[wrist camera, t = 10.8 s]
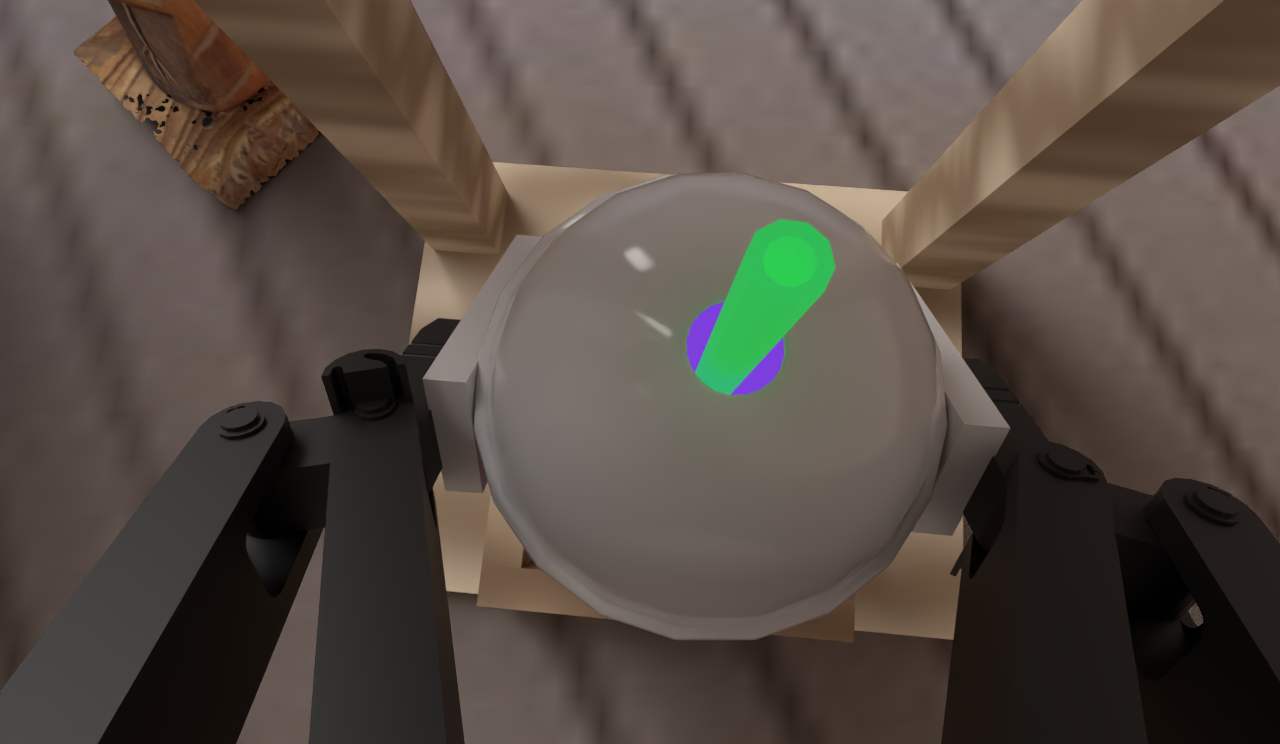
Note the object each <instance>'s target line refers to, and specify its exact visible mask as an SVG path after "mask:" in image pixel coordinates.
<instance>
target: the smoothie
mask: <svg viewBox="0 0 1280 744" xmlns="http://www.w3.org/2000/svg"><path fill="white" fill-rule="evenodd" d="M477 360H478V363H477V375H476V387H475V399H474V426H473V431H474V434H475V438H476V442H477V445H478V449H479V452H480V456H481V460H482V463H483V467H484V470H485V474H486V478H487V481H488V485H489V488H490V492H491V496H492V499H493V503H494V504H495V506H496V507H497V509H498V510H499V512H500V513H501V514H502V516H503V517H504V519H505V520H506V522H507V523H508V525H509V526H510V528H511V529H512V531H513V532H514V534H515V535H516V536H517V538H518V539H519V541H520V542H521V544H522V545H523V547H524V548H525V550H526V551H527V553H528V554H529V556H530V557H531V559H532V560H533V561H534V563H535V564H536V566H537V567H538V568H540V569H541V570H542V571H543V572H545V573H546V574H547V575H549V576H550V577H551V578H553V579H554V580H555V581H556V582H558V583H559V584H560V585H562V586H563V587H564V588H565V589H567V590H568V591H569V592H571V593H572V594H573V595H574V596H576V597H577V598H578V599H580V600H581V601H582V602H584V603H585V604H586V605H587V606H589V607H590V608H591V609H593V610H594V611H595V612H596V613H598V614H599V615H602V616H605V617H608V618H611V619H614V620H617V621H620V622H623V623H626V624H628V625H631V626H634V627H637V628H640V629H643V630H646V631H649V632H652V633H655V634H658V635H661V636H664V637H667V638H670V639H673V640H757V639H760V638H763V637H765V636H768V635H771V634H774V633H777V632H779V631H782V630H785V629H788V628H791V627H793V626H796V625H799V624H802V623H804V622H807V621H810V620H813V619H816V618H818V617H821V616H824V615H827V614H830V613H831V612H832V611H833V610H835V609H836V608H837V607H838V606H840V605H841V604H842V603H843V602H845V601H846V600H847V599H849V598H850V597H851V596H852V595H854V594H855V593H856V592H857V591H859V590H860V589H861V588H862V587H864V586H865V585H866V584H867V583H869V582H870V581H871V580H872V579H874V578H875V577H876V576H877V575H879V574H880V573H881V572H882V571H884V570H885V569H886V568H887V567H889V566H890V565H891V564H892V562H893V560H894V559H895V557H896V556H897V554H898V552H899V551H900V549H901V547H902V546H903V544H904V543H905V541H906V539H907V538H908V536H909V534H910V533H911V531H912V529H913V528H914V526H915V525H916V523H917V521H918V520H919V518H920V516H921V515H922V513H923V512H924V510H925V508H926V507H927V505H928V503H929V502H930V500H931V498H932V493H933V489H934V485H935V480H936V476H937V472H938V467H939V463H940V459H941V454H942V450H943V446H944V441H945V437H946V433H947V428H948V419H947V409H946V400H945V390H944V381H943V371H942V362H941V353H940V349H939V347H938V345H937V342H936V340H935V338H934V335H933V333H932V331H931V329H930V326H929V324H928V322H927V319H926V317H925V315H924V312H923V310H922V308H921V306H920V303H919V301H918V299H917V296H916V294H915V292H914V289H913V287H912V285H911V283H910V281H909V278H908V276H907V275H906V274H905V273H904V272H903V271H902V269H901V268H900V267H899V266H898V265H897V264H896V263H895V261H894V260H893V259H892V258H891V257H890V256H889V255H888V253H887V252H886V251H885V250H884V249H883V248H882V247H881V245H880V244H879V243H878V242H877V241H876V240H875V239H874V237H873V236H872V235H871V234H870V233H869V232H868V231H867V230H866V228H865V227H864V226H863V225H861V224H860V223H858V222H857V221H855V220H853V219H852V218H850V217H849V216H847V215H845V214H844V213H842V212H841V211H839V210H838V209H836V208H834V207H833V206H831V205H830V204H828V203H826V202H825V201H823V200H822V199H820V198H819V197H817V196H815V195H814V194H812V193H811V192H809V191H807V190H805V189H801V188H797V187H794V186H790V185H786V184H783V183H779V182H775V181H772V180H768V179H764V178H761V177H757V176H753V175H750V174H746V173H690V174H671V175H664V176H661V177H657V178H654V179H651V180H648V181H645V182H642V183H639V184H636V185H633V186H630V187H627V188H624V189H621V190H618V191H614V192H611V193H608V194H605V195H602V196H600V197H599V198H597V199H596V200H594V201H593V202H591V203H590V204H588V205H587V206H585V207H584V208H583V209H581V210H580V211H578V212H577V213H575V214H574V215H572V216H571V217H570V218H568V219H567V220H565V221H564V222H562V223H561V224H559V225H558V226H556V227H555V228H554V229H552V230H551V231H549V232H548V233H546V234H545V235H544V236H543V237H542V238H541V239H540V241H539V242H538V243H537V245H536V246H535V247H534V249H533V250H532V251H531V252H530V254H529V255H528V256H527V258H526V259H525V260H524V261H523V263H522V264H521V265H520V267H519V268H518V269H517V271H516V272H515V273H514V274H513V276H512V277H511V278H510V280H509V281H508V282H507V283H506V285H505V286H504V287H503V289H502V290H501V292H500V295H499V297H498V300H497V303H496V305H495V308H494V311H493V313H492V316H491V319H490V321H489V324H488V327H487V329H486V332H485V335H484V337H483V340H482V343H481V345H480V348H479V351H478V353H477Z"/></svg>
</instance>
